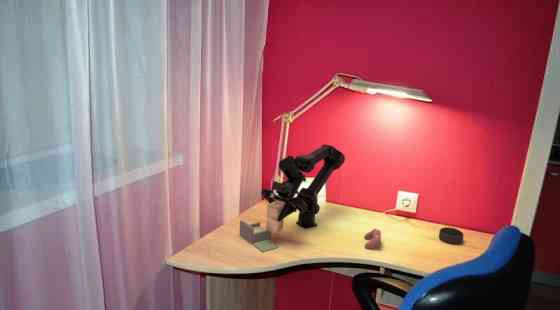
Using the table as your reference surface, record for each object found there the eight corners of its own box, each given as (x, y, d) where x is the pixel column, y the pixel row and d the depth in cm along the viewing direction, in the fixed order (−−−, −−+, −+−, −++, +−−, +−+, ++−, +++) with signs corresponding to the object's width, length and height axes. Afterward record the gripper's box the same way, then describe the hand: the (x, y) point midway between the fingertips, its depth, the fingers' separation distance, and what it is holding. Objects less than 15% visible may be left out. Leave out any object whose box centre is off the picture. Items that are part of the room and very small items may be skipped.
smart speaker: (460, 237, 162) (461, 228, 161) (464, 247, 154) (465, 237, 153) (437, 234, 165) (438, 225, 164) (439, 243, 156) (441, 233, 155)
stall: (259, 230, 159) (259, 216, 157) (271, 238, 152) (271, 223, 151) (239, 234, 154) (240, 220, 152) (251, 243, 147) (251, 228, 146)
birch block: (273, 226, 151) (274, 201, 149) (282, 229, 149) (284, 204, 147) (266, 229, 148) (267, 204, 146) (275, 233, 145) (277, 207, 143)
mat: (267, 240, 150) (267, 239, 150) (278, 247, 145) (278, 246, 145) (252, 244, 146) (252, 243, 146) (262, 252, 141) (262, 251, 141)
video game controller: (374, 254, 147) (384, 239, 145) (363, 247, 147) (373, 233, 145) (373, 242, 157) (382, 229, 155) (363, 236, 157) (372, 223, 155)
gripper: (264, 167, 152) (244, 202, 146) (304, 178, 141) (284, 216, 135) (276, 183, 160) (257, 216, 154) (315, 194, 149) (296, 230, 143)
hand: (272, 219), depth 146 cm, fingers closed on birch block, 4 cm apart
